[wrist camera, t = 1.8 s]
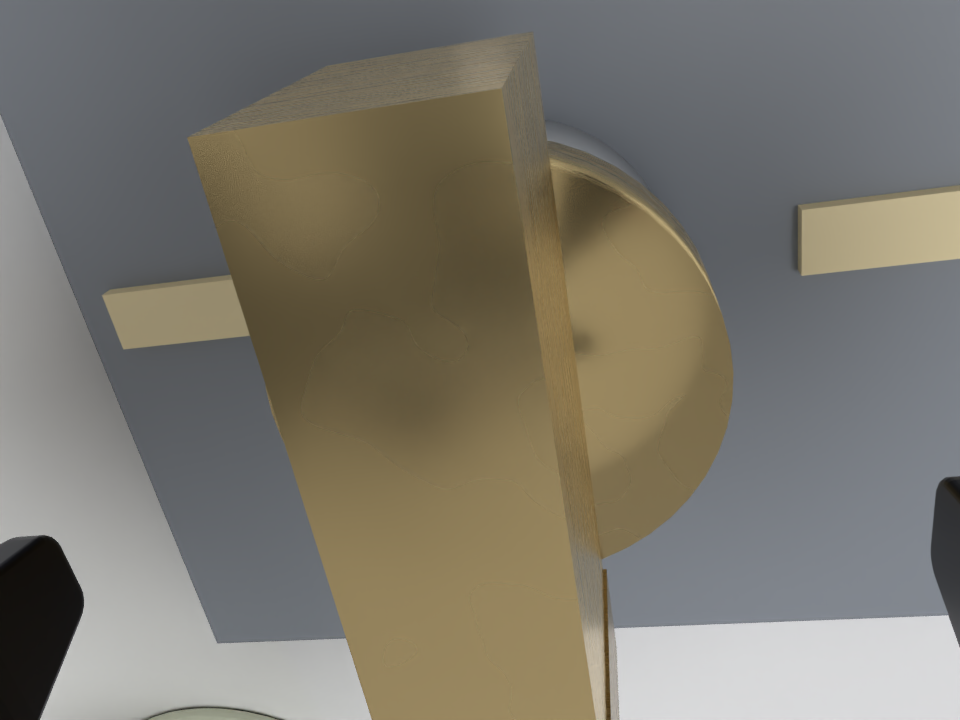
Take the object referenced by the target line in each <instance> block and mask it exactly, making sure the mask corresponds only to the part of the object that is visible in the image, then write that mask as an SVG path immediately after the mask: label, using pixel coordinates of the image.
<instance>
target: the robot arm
mask: <svg viewBox="0 0 960 720" xmlns="http://www.w3.org/2000/svg"><path fill="white" fill-rule="evenodd" d="M931 562H932V568H933V572H934V575H935V579H936V581H937V584H938V587H939V590H940V593H941V596H942V598H943V601H944V604H945V607H946V610H947V613H948V615H949V618H950V621H951V624H952V627H953V629H954V632H955V635H956V638H957V641H958V644H959V646H960V476H953V477H945V478H944V479H943V480H941V481H940V482H939V484H938V487H937V489H936V494H935V505H934V516H933V527H932V538H931ZM83 608H84V597H83V592H82V589H81V587H80V585H79V583H78V581H77V579H76V577H75V575H74V573H73V571H72V569H71V566H70V564H69V562H68V560H67V558H66V556H65V554H64V552H63V550H62V548H61V546H60V545H59V543H58V542H57V541H56V540H55V539H53V538H52V537H49V536H45V535H41V536H25V537H16V538H12V539H10V540H7V541H5V542H4V543H2V544H0V720H40V718H41V716H42V713H43V711H44V708H45V706H46V703H47V701H48V698H49V696H50V693H51V691H52V688H53V686H54V683H55V681H56V678H57V676H58V673H59V671H60V669H61V666H62V664H63V661H64V659H65V656H66V654H67V651H68V649H69V646H70V644H71V641H72V639H73V636H74V634H75V631H76V629H77V626H78V624H79V621H80V619H81V616H82V613H83Z"/></svg>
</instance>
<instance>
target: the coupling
mask: <svg viewBox="0 0 960 720" xmlns="http://www.w3.org/2000/svg"><path fill="white" fill-rule="evenodd" d="M187 139H188V142H189V145H190V148H191V152H192V155H193V158H194V161H195V164H196V167H197V170H198V174H199V177H200V180H201V183H202V186H203V189H204V192H205V196H206V199H207V202H208V205H209V208H210V211H211V214H212V218H213V221H214V224H215V227H216V230H217V233H218V236H219V240H220V243H221V246H222V249H223V252H224V255H225V259H226V262H227V265H228V268H229V271H230V274H231V277H232V281H233V284H234V287H235V290H236V293H237V296H238V299H239V303H240V306H241V309H242V312H243V315H244V318H245V321H246V325H247V328H248V331H249V334H250V337H251V340H252V343H253V347H254V350H255V353H256V356H257V359H258V362H259V366H260V369H261V372H262V375H263V378H264V381H265V386H266V392H267V396H268V400H269V404H270V408H271V412H272V415H273V418H274V420H275V423H276V425H277V428H278V431H279V433H280V436H281V438H282V440H283V442H284V444H285V447H286V450H287V454H288V457H289V460H290V463H291V466H292V469H293V473H294V476H295V479H296V482H297V485H298V488H299V491H300V495H301V498H302V501H303V504H304V507H305V510H306V513H307V517H308V520H309V523H310V526H311V529H312V532H313V535H314V539H315V542H316V545H317V548H318V551H319V554H320V557H321V561H322V564H323V567H324V570H325V573H326V576H327V580H328V583H329V586H330V589H331V592H332V595H333V598H334V602H335V605H336V608H337V611H338V614H339V617H340V620H341V624H342V627H343V630H344V633H345V636H346V639H347V642H348V646H349V649H350V652H351V655H352V658H353V661H354V664H355V668H356V671H357V674H358V677H359V680H360V683H361V687H362V690H363V693H364V696H365V699H366V702H367V705H368V709H369V712H370V715H371V718H372V720H619V700H618V675H617V650H616V640H615V632H614V624H613V616H612V608H611V601H610V593H609V585H608V577H607V569H603V566H602V559H604V558H606V557H608V556H610V555H613V554H615V553H617V552H619V551H621V550H623V549H626V548H628V547H629V546H631V545H633V544H634V543H636V542H638V541H639V540H641V539H642V538H644V537H646V536H647V535H649V534H651V533H652V532H653V531H654V530H656V529H657V528H658V527H659V526H661V525H662V524H663V523H664V522H666V521H667V520H668V519H669V518H671V517H672V516H673V515H674V514H675V513H676V512H677V511H678V510H679V508H680V507H681V506H682V505H683V504H684V503H685V502H686V501H687V500H688V499H689V498H690V497H691V495H692V494H693V493H694V491H695V490H696V489H697V487H698V486H699V485H700V483H701V482H702V480H703V479H704V478H705V476H706V474H707V473H708V471H709V469H710V467H711V465H712V463H713V461H714V459H715V458H716V456H717V454H718V452H719V449H720V446H721V443H722V440H723V438H724V435H725V432H726V429H727V426H728V420H729V415H730V410H731V405H732V398H733V373H734V372H733V364H732V355H731V346H730V341H729V338H728V334H727V330H726V327H725V323H724V319H723V316H722V313H721V310H720V307H719V304H718V301H717V299H716V296H715V293H714V290H713V287H712V284H711V282H710V279H709V276H708V273H707V271H706V269H705V267H704V264H703V262H702V260H701V258H700V255H699V253H698V251H697V249H696V247H695V246H694V244H693V242H692V241H691V239H690V238H689V236H688V234H687V233H686V231H685V230H684V228H683V227H682V225H681V224H680V223H679V222H678V220H677V219H676V218H675V217H674V216H673V214H672V213H671V212H670V211H669V210H668V209H667V207H666V206H665V205H664V204H663V203H662V202H661V201H660V200H659V199H658V198H657V197H655V196H654V195H653V194H652V193H651V192H650V191H649V190H648V189H646V188H645V187H644V186H643V185H642V184H641V183H640V182H638V181H637V180H635V179H634V178H632V177H631V176H629V175H628V174H626V173H625V172H623V171H622V170H620V169H619V168H617V167H616V166H614V165H612V164H610V163H608V162H606V161H604V160H602V159H600V158H598V157H595V156H593V155H591V154H589V153H587V152H585V151H581V150H578V149H575V148H572V147H569V146H566V145H563V144H560V143H557V142H552V141H547V134H546V126H545V118H544V111H543V103H542V95H541V88H540V80H539V72H538V64H537V57H536V49H535V41H534V34H533V31H532V32H526V33H520V34H514V35H508V36H502V37H496V38H490V39H484V40H478V41H472V42H466V43H460V44H454V45H448V46H442V47H436V48H430V49H424V50H418V51H412V52H406V53H400V54H394V55H388V56H382V57H376V58H370V59H364V60H359V61H353V62H347V63H341V64H335V65H329V66H326V67H324V68H322V69H320V70H318V71H316V72H314V73H312V74H310V75H308V76H306V77H304V78H302V79H300V80H298V81H296V82H294V83H293V84H291V85H289V86H287V87H285V88H283V89H281V90H279V91H277V92H275V93H273V94H271V95H269V96H267V97H265V98H263V99H261V100H259V101H257V102H255V103H253V104H251V105H249V106H247V107H246V108H244V109H242V110H240V111H238V112H236V113H234V114H232V115H230V116H228V117H226V118H224V119H222V120H220V121H218V122H216V123H214V124H212V125H210V126H208V127H206V128H204V129H202V130H200V131H199V132H197V133H195V134H193V135H191V136H189V137H187Z"/></svg>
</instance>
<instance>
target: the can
mask: <svg viewBox="0 0 960 720" xmlns="http://www.w3.org/2000/svg"><path fill="white" fill-rule="evenodd" d="M148 720H277V719H274V718H271V717H268V716H264V715H259V714H255V713H250V712H246V711H238V710H231V709H219V708H196V709H186V710H178V711H173V712H168V713H165V714H162V715H158V716H155V717H152V718H150V719H148Z"/></svg>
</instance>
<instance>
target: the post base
mask: <svg viewBox="0 0 960 720" xmlns="http://www.w3.org/2000/svg"><path fill="white" fill-rule="evenodd" d="M532 31H533V34H534V41H535V49H536V57H537V64H538V72H539V80H540V88H541V95H542V103H543V111H544V118H545V126H546V134H547V141H552V142H557V143H560V144H563V145H566V146H569V147H572V148H575V149H578V150H581V151H585V152H587V153H589V154H591V155H593V156H595V157H598V158H600V159H602V160H604V161H606V162H608V163H610V164H612V165H614V166H616V167H617V168H619V169H620V170H622V171H623V172H625V173H626V174H628V175H629V176H631V177H632V178H634V179H635V180H637V181H638V182H640V183H641V184H642V185H643V186H644V187H645V188H646V189H648V190H649V191H650V192H651V193H652V194H653V195H654V196H655V197H657V198H658V199H659V200H660V201H661V202H662V203H663V204H664V205H665V206H666V207H667V209H668V210H669V211H670V212H671V213H672V214H673V216H674V217H675V218H676V219H677V220H678V222H679V223H680V224H681V225H682V227H683V228H684V230H685V231H686V233H687V234H688V236H689V238H690V239H691V241H692V242H693V244H694V246H695V247H696V249H697V251H698V253H699V255H700V258H701V260H702V262H703V264H704V267H705V269H706V271H707V273H708V276H709V279H710V282H711V284H712V287H713V290H714V293H715V296H716V299H717V301H718V304H719V307H720V310H721V313H722V316H723V319H724V323H725V327H726V330H727V334H728V338H729V341H730V346H731V355H732V364H733V372H734V373H733V398H732V405H731V410H730V415H729V420H728V426H727V429H726V432H725V435H724V438H723V440H722V443H721V446H720V449H719V452H718V454H717V456H716V458H715V459H714V461H713V463H712V465H711V467H710V469H709V471H708V473H707V474H706V476H705V478H704V479H703V480H702V482H701V483H700V485H699V486H698V487H697V489H696V490H695V491H694V493H693V494H692V495H691V497H690V498H689V499H688V500H687V501H686V502H685V503H684V504H683V505H682V506H681V507H680V508H679V510H678V511H677V512H676V513H675V514H674V515H673V516H672V517H671V518H669V519H668V520H667V521H666V522H664V523H663V524H662V525H661V526H659V527H658V528H657V529H656V530H654V531H653V532H652V533H651V534H649V535H647V536H646V537H644V538H642V539H641V540H639V541H638V542H636V543H634V544H633V545H631V546H629V547H628V548H626V549H623V550H621V551H619V552H617V553H615V554H613V555H610V556H608V557H606V558H604V559H602V566H603V569H607V577H608V585H609V593H610V601H611V608H612V616H613V624H614V628H628V627H654V626H680V625H706V624H732V623H758V622H784V621H810V620H836V619H862V618H888V617H914V616H940V615H948V613H947V610H946V607H945V604H944V601H943V598H942V596H941V593H940V590H939V587H938V584H937V581H936V579H935V575H934V572H933V568H932V562H931V538H932V527H933V516H934V505H935V494H936V489H937V487H938V484H939V482H940V481H941V480H943V479H944V478H945V477H953V476H960V0H0V115H1V117H2V120H3V122H4V124H5V127H6V129H7V132H8V134H9V137H10V139H11V141H12V144H13V146H14V149H15V151H16V154H17V156H18V159H19V161H20V163H21V166H22V168H23V171H24V173H25V176H26V178H27V180H28V183H29V185H30V188H31V190H32V193H33V195H34V197H35V200H36V202H37V205H38V207H39V210H40V212H41V215H42V217H43V219H44V222H45V224H46V227H47V229H48V232H49V234H50V236H51V239H52V241H53V244H54V246H55V249H56V251H57V254H58V256H59V258H60V261H61V263H62V266H63V268H64V271H65V273H66V275H67V278H68V280H69V283H70V285H71V288H72V290H73V293H74V295H75V297H76V300H77V302H78V305H79V307H80V310H81V312H82V314H83V317H84V319H85V322H86V324H87V327H88V329H89V332H90V334H91V336H92V339H93V341H94V344H95V346H96V349H97V351H98V353H99V356H100V358H101V361H102V363H103V366H104V368H105V371H106V373H107V375H108V378H109V380H110V383H111V385H112V388H113V390H114V392H115V395H116V397H117V400H118V402H119V405H120V407H121V409H122V412H123V414H124V417H125V419H126V422H127V424H128V427H129V429H130V431H131V434H132V436H133V439H134V441H135V444H136V446H137V448H138V451H139V453H140V456H141V458H142V461H143V463H144V466H145V468H146V470H147V473H148V475H149V478H150V480H151V483H152V485H153V487H154V490H155V492H156V495H157V497H158V500H159V502H160V505H161V507H162V509H163V512H164V514H165V517H166V519H167V522H168V524H169V526H170V529H171V531H172V534H173V536H174V539H175V541H176V544H177V546H178V548H179V551H180V553H181V556H182V558H183V561H184V563H185V565H186V568H187V570H188V573H189V575H190V578H191V580H192V583H193V585H194V587H195V590H196V592H197V595H198V597H199V600H200V602H201V604H202V607H203V609H204V612H205V614H206V617H207V619H208V622H209V624H210V626H211V629H212V631H213V634H214V636H215V639H216V641H217V643H238V642H264V641H290V640H316V639H342V638H346V636H345V633H344V630H343V627H342V624H341V620H340V617H339V614H338V611H337V608H336V605H335V602H334V598H333V595H332V592H331V589H330V586H329V583H328V580H327V576H326V573H325V570H324V567H323V564H322V561H321V557H320V554H319V551H318V548H317V545H316V542H315V539H314V535H313V532H312V529H311V526H310V523H309V520H308V517H307V513H306V510H305V507H304V504H303V501H302V498H301V495H300V491H299V488H298V485H297V482H296V479H295V476H294V473H293V469H292V466H291V463H290V460H289V457H288V454H287V450H286V447H285V444H284V442H283V440H282V438H281V436H280V433H279V431H278V428H277V425H276V423H275V420H274V418H273V415H272V412H271V408H270V404H269V400H268V396H267V392H266V386H265V381H264V378H263V375H262V372H261V369H260V366H259V362H258V359H257V356H256V353H255V350H254V347H253V343H252V340H251V337H250V334H249V331H248V328H247V325H246V321H245V318H244V315H243V312H242V309H241V306H240V303H239V299H238V296H237V293H236V290H235V287H234V284H233V281H232V277H231V274H230V271H229V268H228V265H227V262H226V259H225V255H224V252H223V249H222V246H221V243H220V240H219V236H218V233H217V230H216V227H215V224H214V221H213V218H212V214H211V211H210V208H209V205H208V202H207V199H206V196H205V192H204V189H203V186H202V183H201V180H200V177H199V174H198V170H197V167H196V164H195V161H194V158H193V155H192V152H191V148H190V145H189V142H188V139H187V137H189V136H191V135H193V134H195V133H197V132H199V131H200V130H202V129H204V128H206V127H208V126H210V125H212V124H214V123H216V122H218V121H220V120H222V119H224V118H226V117H228V116H230V115H232V114H234V113H236V112H238V111H240V110H242V109H244V108H246V107H247V106H249V105H251V104H253V103H255V102H257V101H259V100H261V99H263V98H265V97H267V96H269V95H271V94H273V93H275V92H277V91H279V90H281V89H283V88H285V87H287V86H289V85H291V84H293V83H294V82H296V81H298V80H300V79H302V78H304V77H306V76H308V75H310V74H312V73H314V72H316V71H318V70H320V69H322V68H324V67H326V66H329V65H335V64H341V63H347V62H353V61H359V60H364V59H370V58H376V57H382V56H388V55H394V54H400V53H406V52H412V51H418V50H424V49H430V48H436V47H442V46H448V45H454V44H460V43H466V42H472V41H478V40H484V39H490V38H496V37H502V36H508V35H514V34H520V33H526V32H532Z"/></svg>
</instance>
